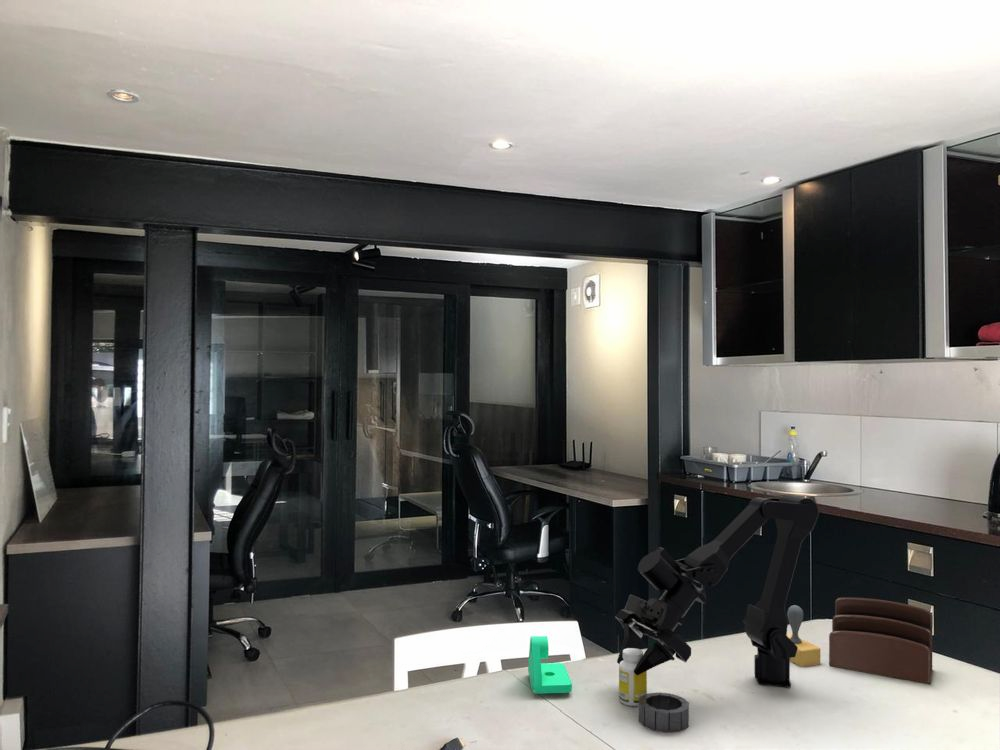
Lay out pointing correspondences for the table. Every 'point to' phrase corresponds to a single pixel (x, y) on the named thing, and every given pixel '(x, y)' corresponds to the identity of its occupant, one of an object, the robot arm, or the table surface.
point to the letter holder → (882, 639)
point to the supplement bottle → (631, 678)
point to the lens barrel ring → (664, 712)
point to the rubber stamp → (801, 640)
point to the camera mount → (546, 669)
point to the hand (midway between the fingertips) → (626, 668)
